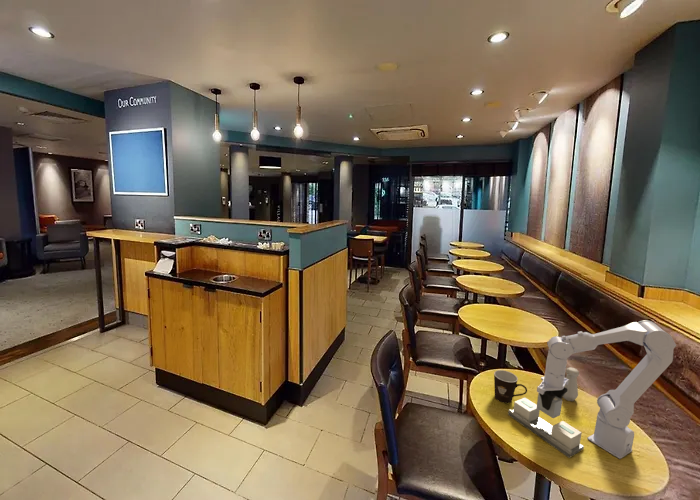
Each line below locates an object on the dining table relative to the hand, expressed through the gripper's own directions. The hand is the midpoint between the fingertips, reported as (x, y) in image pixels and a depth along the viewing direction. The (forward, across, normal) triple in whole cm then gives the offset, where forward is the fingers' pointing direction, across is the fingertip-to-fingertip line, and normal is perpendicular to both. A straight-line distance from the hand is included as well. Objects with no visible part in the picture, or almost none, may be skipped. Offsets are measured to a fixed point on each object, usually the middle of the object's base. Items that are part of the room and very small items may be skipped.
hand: (549, 406), depth 112 cm
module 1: (+7, +2, -7) cm, 10 cm away
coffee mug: (+9, 0, -17) cm, 19 cm away
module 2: (+7, +2, +7) cm, 11 cm away
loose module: (+2, 0, 0) cm, 2 cm away
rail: (+8, +3, 0) cm, 9 cm away
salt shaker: (+9, -25, -7) cm, 28 cm away
